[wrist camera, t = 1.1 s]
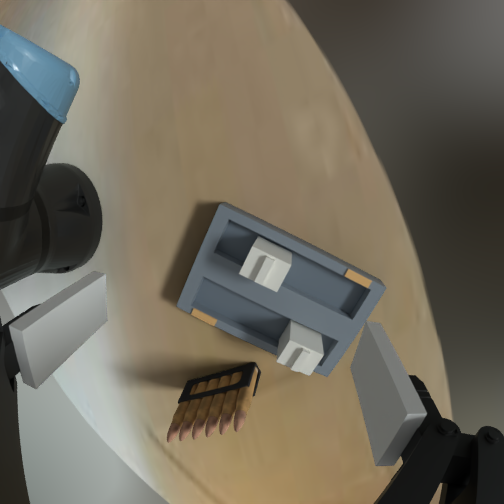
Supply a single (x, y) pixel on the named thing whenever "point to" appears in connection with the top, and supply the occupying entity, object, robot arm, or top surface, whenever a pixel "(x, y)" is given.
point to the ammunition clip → (215, 402)
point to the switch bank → (288, 295)
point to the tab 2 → (300, 348)
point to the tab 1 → (267, 264)
